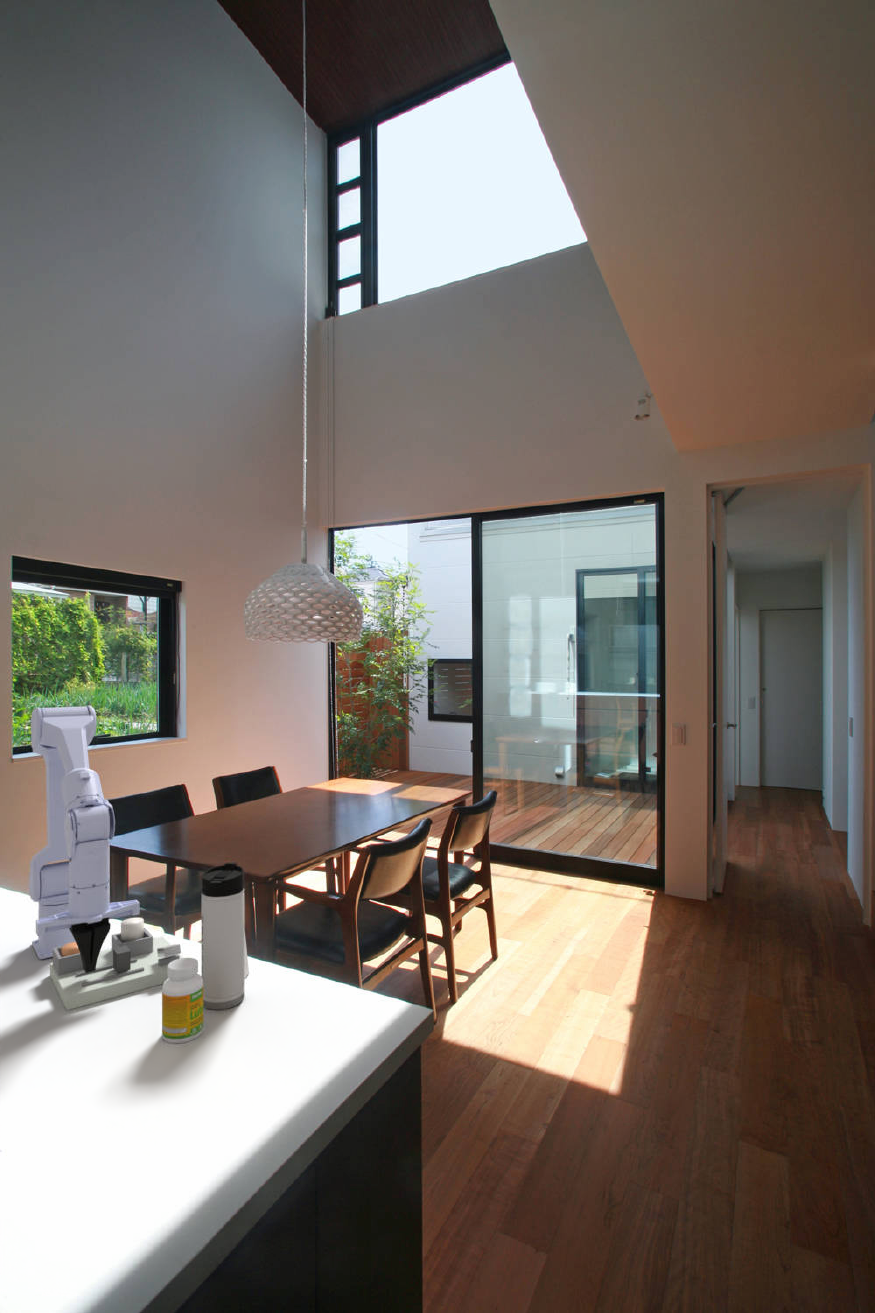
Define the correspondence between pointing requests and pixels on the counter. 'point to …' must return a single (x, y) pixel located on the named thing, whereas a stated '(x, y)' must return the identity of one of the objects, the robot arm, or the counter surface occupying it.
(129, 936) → the button white
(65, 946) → the button orange
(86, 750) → the robot arm
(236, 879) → the travel mug
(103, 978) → the panel
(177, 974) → the supplement bottle
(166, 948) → the rocker
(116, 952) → the slider knob
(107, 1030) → the counter surface
